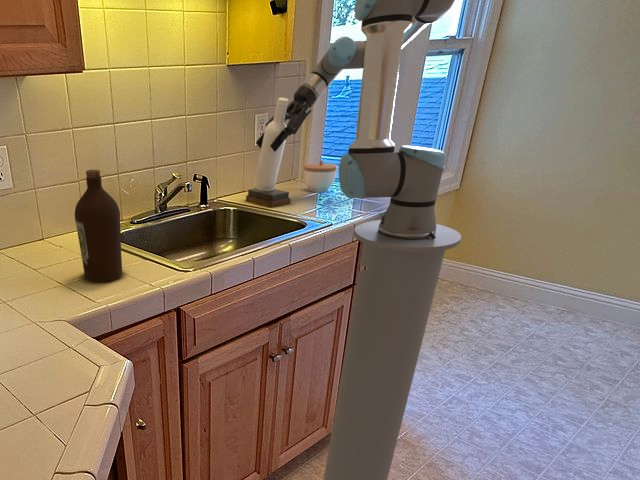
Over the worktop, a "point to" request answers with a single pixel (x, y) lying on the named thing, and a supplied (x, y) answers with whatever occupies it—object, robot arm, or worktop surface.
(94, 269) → the olive oil
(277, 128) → the bottle
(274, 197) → the sharpening stone
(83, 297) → the worktop surface
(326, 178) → the lidded bowl
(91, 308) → the worktop surface
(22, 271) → the worktop surface
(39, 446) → the worktop surface
